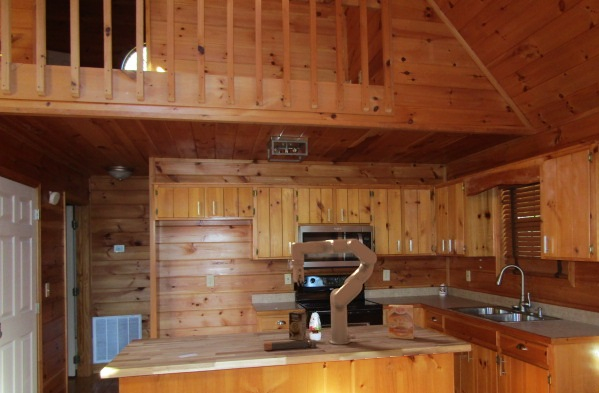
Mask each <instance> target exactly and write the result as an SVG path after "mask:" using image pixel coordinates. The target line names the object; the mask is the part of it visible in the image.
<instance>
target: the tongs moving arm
mask: <svg viewBox="0 0 599 393" xmlns="http://www.w3.org/2000/svg"><path fill="white" fill-rule="evenodd" d="M311 340H312V339H309V340H306V341H300V340H292V341H293V342H285V341H277V342H278V343H266V342H263V350H264V351H274V350H288V349H289V350H290V349H304V348H313V347H312V341H311Z"/></svg>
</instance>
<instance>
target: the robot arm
mask: <svg viewBox="0 0 599 393" xmlns="http://www.w3.org/2000/svg"><path fill="white" fill-rule="evenodd" d="M313 254H330V255H336V254H337V255H339V254H353V255H354V256H355V257H356V258H358V260H359V261H360V263H359V264H360V265H359V267H358V268H357V269H355V271H354V272H352V274H351V275H350V276H348V277H347V278H346V279H345V280H344V283H343V285H342V286H341V287H340V288H335V289H333V290H332V291H331V293H330V294H329V296H330V297H329V298H330V299H329V301H330V324H331V325H330V326H331V327H330V329H331V331H330V332H331V334H330V335H331V336H330V337H331V338H330V339H329V340H328V343H329V344H332V345H348V344H350V343H351V340H354V339H356V335H355V334H353V335H352V334H348V309H347V308H348V307H347V305H349V303H351V302H352V301H353V300H354V299H355V298H356V297H357V296H358V295H359V294H360V293H361V291H362V290H363V284H364V283H365V282H366V281H367V280H368V279H369V278H370V277H371V276H372V274H373V271H374V267H375V264H376V263H377V261H378V257H377V255H376V253H375V252H374V251H373V250H372V249H370V248H369V247H368V246H366V244H364V243H363V242H362V241H361V240H360V239H358V238H343V239H342V238H341V239H328V240H319V241H318V240H317V241H307V242H302V241H301V242H298V241H297V242H296V241H295V242H292V243H291V266H293V267H292V280H293V291H294V292H297V294H300V293H301V294H302V293H303V292H304V289H303V288H304V285H303V283H304V282H305V271H304V270H305V269H304V266H305V255H313Z"/></svg>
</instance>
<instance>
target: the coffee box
mask: <svg viewBox="0 0 599 393" xmlns="http://www.w3.org/2000/svg"><path fill="white" fill-rule="evenodd" d="M288 330H289V331H288V334H289V335H288V339H289V340H293V341H300V340H306V339H307V312H306V311H304V312H303V311H290V312H288Z"/></svg>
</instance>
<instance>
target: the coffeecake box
mask: <svg viewBox="0 0 599 393" xmlns="http://www.w3.org/2000/svg"><path fill="white" fill-rule="evenodd" d="M387 308H388V309H387V314H388V338H389V339H403V340H414V338H415V326H414V325H415V323H414V322H415V321H414V305H411V304H410V305H408V304H407V305H406V304H405V305H404V304H389V305H388V306H387Z"/></svg>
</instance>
